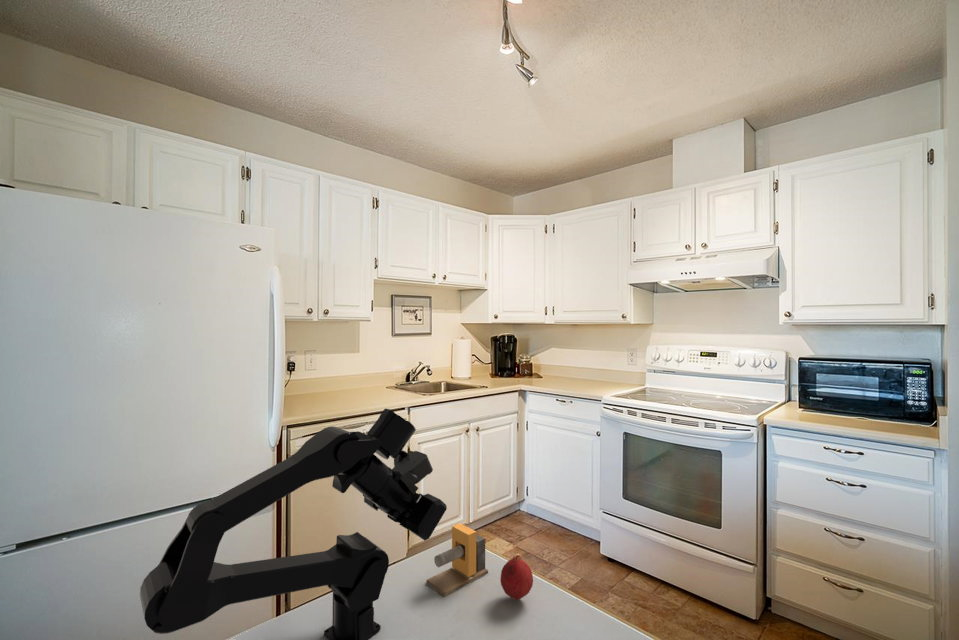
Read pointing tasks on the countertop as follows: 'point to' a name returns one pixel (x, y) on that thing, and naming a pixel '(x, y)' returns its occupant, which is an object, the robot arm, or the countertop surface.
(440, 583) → the pipe stand
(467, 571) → the collar
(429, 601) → the countertop surface
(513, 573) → the onion
